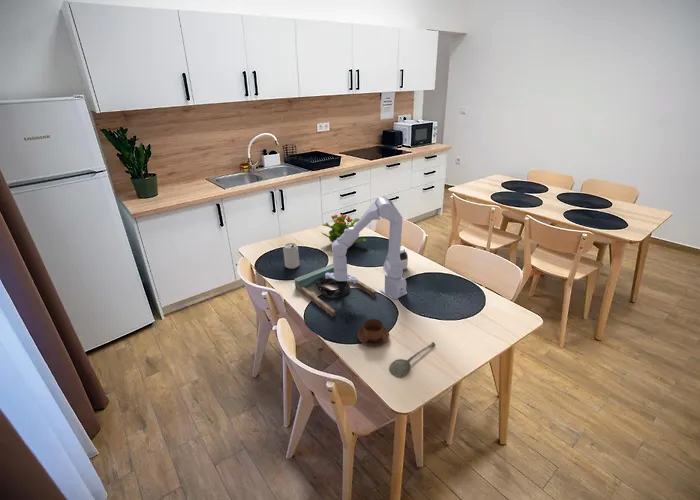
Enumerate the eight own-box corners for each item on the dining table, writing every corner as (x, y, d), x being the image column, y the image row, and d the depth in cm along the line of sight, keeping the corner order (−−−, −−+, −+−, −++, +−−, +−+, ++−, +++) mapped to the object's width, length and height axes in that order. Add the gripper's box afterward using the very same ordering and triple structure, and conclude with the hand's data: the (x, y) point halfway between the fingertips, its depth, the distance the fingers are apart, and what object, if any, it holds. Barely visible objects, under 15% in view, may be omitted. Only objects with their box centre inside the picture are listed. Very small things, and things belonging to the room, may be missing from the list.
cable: (309, 286, 168) (308, 278, 166) (333, 276, 176) (333, 269, 174) (330, 302, 156) (329, 294, 154) (355, 291, 164) (355, 283, 162)
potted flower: (374, 241, 211) (374, 213, 203) (353, 257, 193) (352, 227, 186) (339, 233, 223) (338, 206, 216) (316, 247, 205) (314, 219, 198)
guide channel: (375, 295, 160) (375, 286, 158) (332, 317, 147) (332, 307, 145) (336, 271, 180) (336, 262, 178) (295, 288, 167) (294, 278, 165)
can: (298, 269, 183) (296, 248, 178) (283, 269, 183) (281, 248, 178) (300, 262, 190) (298, 242, 184) (286, 262, 190) (284, 242, 185)
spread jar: (406, 265, 185) (408, 244, 180) (407, 276, 175) (409, 255, 170) (383, 264, 186) (383, 244, 181) (383, 275, 176) (383, 254, 171)
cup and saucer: (387, 351, 129) (387, 337, 126) (354, 347, 131) (354, 333, 128) (390, 330, 139) (391, 317, 136) (360, 326, 141) (360, 313, 139)
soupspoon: (384, 371, 121) (398, 383, 117) (384, 364, 119) (399, 376, 115) (426, 341, 133) (441, 351, 129) (427, 334, 131) (442, 344, 127)
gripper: (359, 265, 154) (360, 292, 160) (329, 260, 160) (331, 286, 165) (352, 273, 148) (354, 300, 154) (321, 267, 154) (324, 294, 160)
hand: (342, 294), depth 159 cm, fingers closed, pressing on cable
